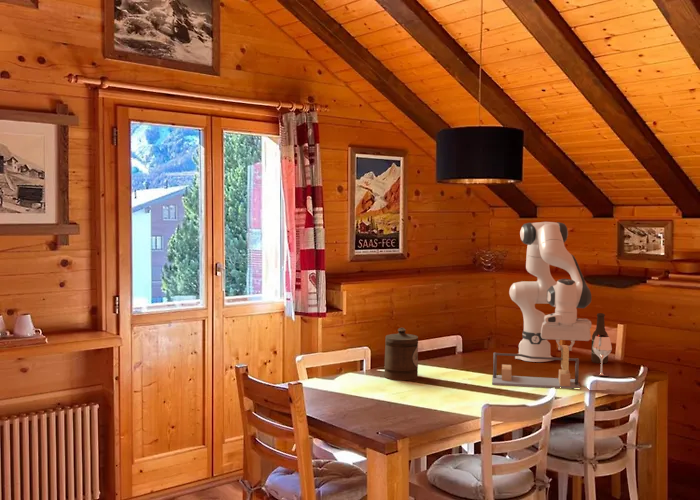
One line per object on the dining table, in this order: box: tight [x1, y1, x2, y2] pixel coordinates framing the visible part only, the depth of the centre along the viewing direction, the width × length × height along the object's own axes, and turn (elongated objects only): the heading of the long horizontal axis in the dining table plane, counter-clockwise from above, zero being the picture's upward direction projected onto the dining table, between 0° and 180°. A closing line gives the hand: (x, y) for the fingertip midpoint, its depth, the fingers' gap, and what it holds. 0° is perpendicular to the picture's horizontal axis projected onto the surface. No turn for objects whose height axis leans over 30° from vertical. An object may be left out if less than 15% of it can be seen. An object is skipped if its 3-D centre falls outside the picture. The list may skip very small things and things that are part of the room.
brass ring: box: [560, 344, 570, 370], centre depth 301 cm, size 8×2×9 cm, turn 168°
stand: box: [491, 352, 581, 389], centre depth 306 cm, size 14×36×12 cm, turn 78°
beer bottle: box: [590, 312, 609, 364], centre depth 347 cm, size 8×8×24 cm
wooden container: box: [384, 327, 419, 381], centre depth 317 cm, size 15×15×22 cm
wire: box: [496, 352, 576, 362], centre depth 306 cm, size 5×34×1 cm, turn 78°
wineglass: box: [591, 335, 613, 375], centre depth 320 cm, size 8×8×18 cm
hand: (565, 350), depth 301 cm, fingers closed on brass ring, 2 cm apart
